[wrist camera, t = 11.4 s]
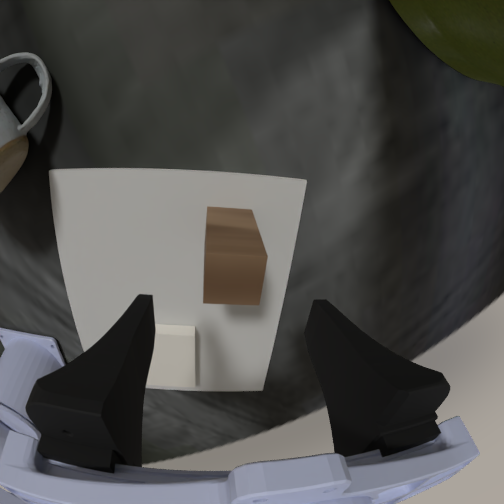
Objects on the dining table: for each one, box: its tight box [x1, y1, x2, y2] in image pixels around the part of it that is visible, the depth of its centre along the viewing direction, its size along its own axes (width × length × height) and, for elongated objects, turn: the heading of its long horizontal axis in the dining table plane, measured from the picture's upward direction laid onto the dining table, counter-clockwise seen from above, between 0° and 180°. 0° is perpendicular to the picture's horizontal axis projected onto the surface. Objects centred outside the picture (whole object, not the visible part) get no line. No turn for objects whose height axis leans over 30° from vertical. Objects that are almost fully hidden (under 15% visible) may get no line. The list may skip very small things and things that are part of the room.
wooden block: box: [203, 206, 268, 305], centre depth 18 cm, size 3×3×6 cm
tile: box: [146, 324, 195, 387], centre depth 26 cm, size 1×6×7 cm
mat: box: [49, 168, 307, 391], centre depth 24 cm, size 22×18×1 cm
